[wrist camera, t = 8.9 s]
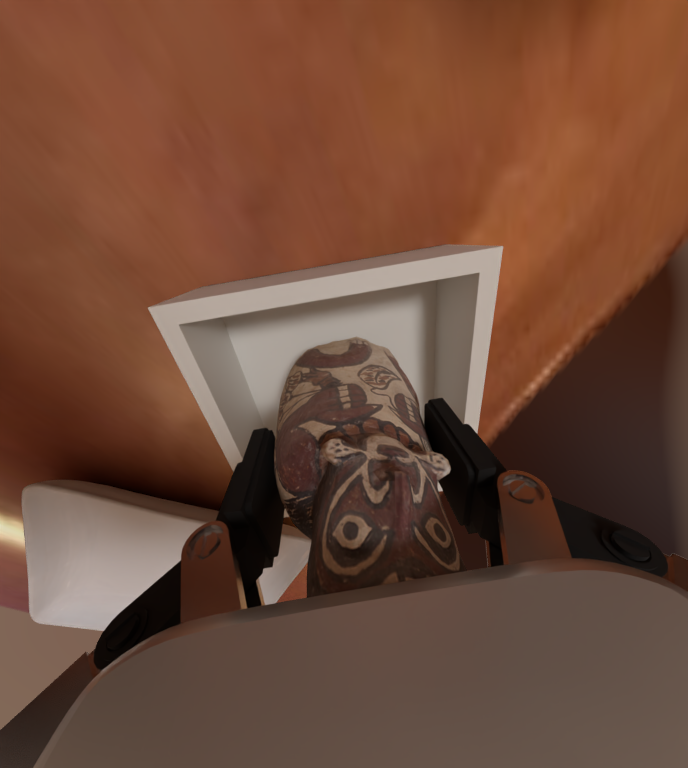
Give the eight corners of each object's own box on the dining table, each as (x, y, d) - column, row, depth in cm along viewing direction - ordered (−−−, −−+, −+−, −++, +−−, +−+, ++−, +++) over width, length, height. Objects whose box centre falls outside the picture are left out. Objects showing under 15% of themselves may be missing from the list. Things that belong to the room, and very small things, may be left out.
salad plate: (58, 447, 19) (9, 486, 16) (322, 511, 25) (322, 548, 22) (58, 585, 27) (26, 628, 24) (254, 608, 33) (248, 645, 30)
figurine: (430, 363, 14) (742, 712, 4) (376, 454, 17) (461, 788, 7) (305, 317, 12) (221, 736, 2) (269, 428, 15) (161, 823, 5)
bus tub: (201, 287, 14) (147, 307, 10) (446, 244, 14) (503, 246, 10) (272, 462, 21) (259, 521, 16) (438, 434, 21) (470, 486, 16)
